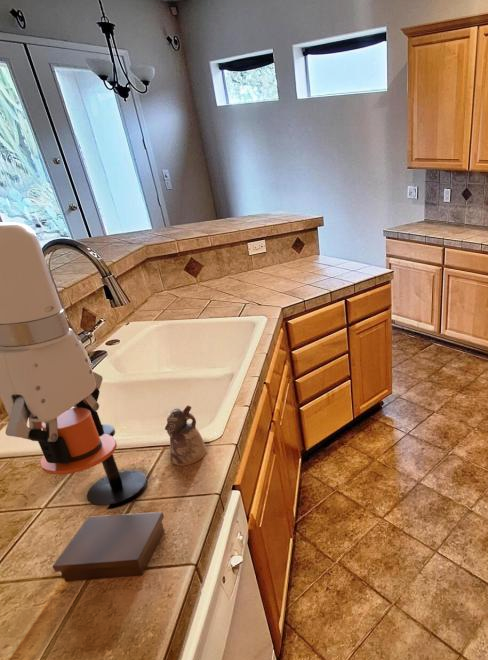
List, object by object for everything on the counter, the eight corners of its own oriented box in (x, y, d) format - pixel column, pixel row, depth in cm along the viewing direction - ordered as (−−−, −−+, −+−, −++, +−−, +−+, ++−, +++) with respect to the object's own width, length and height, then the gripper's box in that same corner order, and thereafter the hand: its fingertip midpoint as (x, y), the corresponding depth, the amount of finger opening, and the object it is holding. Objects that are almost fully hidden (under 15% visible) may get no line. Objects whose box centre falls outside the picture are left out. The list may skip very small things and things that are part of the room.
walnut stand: (61, 584, 65) (52, 566, 64) (95, 534, 74) (88, 516, 73) (144, 577, 67) (137, 559, 65) (167, 528, 76) (162, 511, 74)
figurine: (168, 452, 96) (156, 405, 90) (202, 442, 99) (192, 397, 94) (173, 469, 90) (160, 421, 85) (209, 458, 94) (198, 411, 88)
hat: (25, 476, 57) (7, 438, 54) (65, 438, 65) (50, 403, 62) (97, 472, 58) (83, 434, 55) (127, 435, 66) (116, 400, 63)
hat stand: (77, 511, 79) (51, 449, 73) (104, 476, 88) (83, 418, 82) (134, 507, 80) (113, 446, 74) (155, 473, 89) (138, 415, 83)
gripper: (56, 307, 61) (94, 415, 69) (-71, 355, 46) (-2, 487, 54) (106, 308, 61) (139, 417, 69) (-4, 357, 45) (55, 490, 53)
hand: (77, 446), depth 61 cm, fingers closed on hat, 5 cm apart
